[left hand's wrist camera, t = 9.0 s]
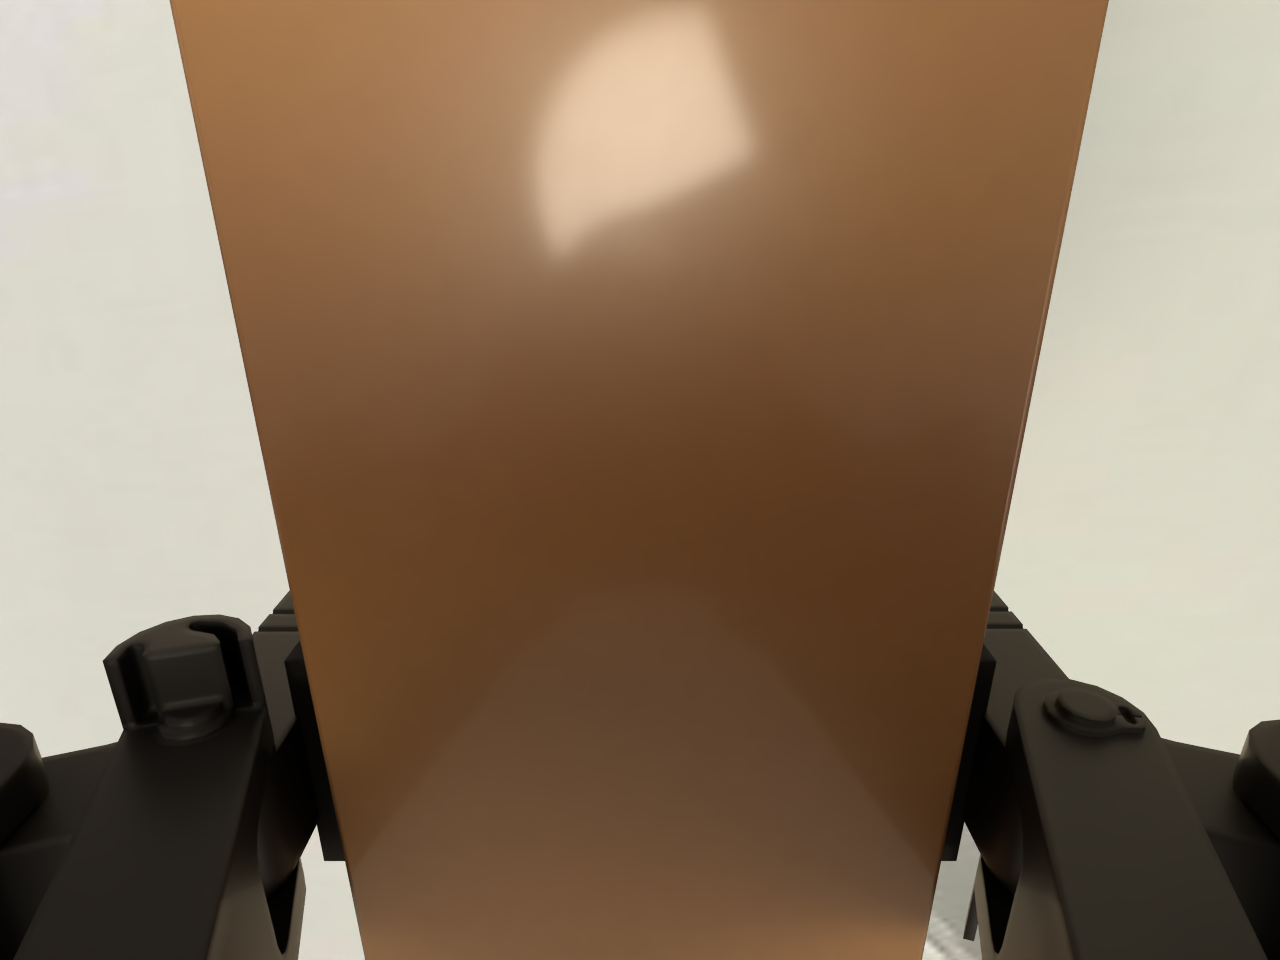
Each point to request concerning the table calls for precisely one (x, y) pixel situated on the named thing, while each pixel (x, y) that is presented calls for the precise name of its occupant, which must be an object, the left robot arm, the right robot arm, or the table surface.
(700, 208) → the wooden beam
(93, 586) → the table surface
